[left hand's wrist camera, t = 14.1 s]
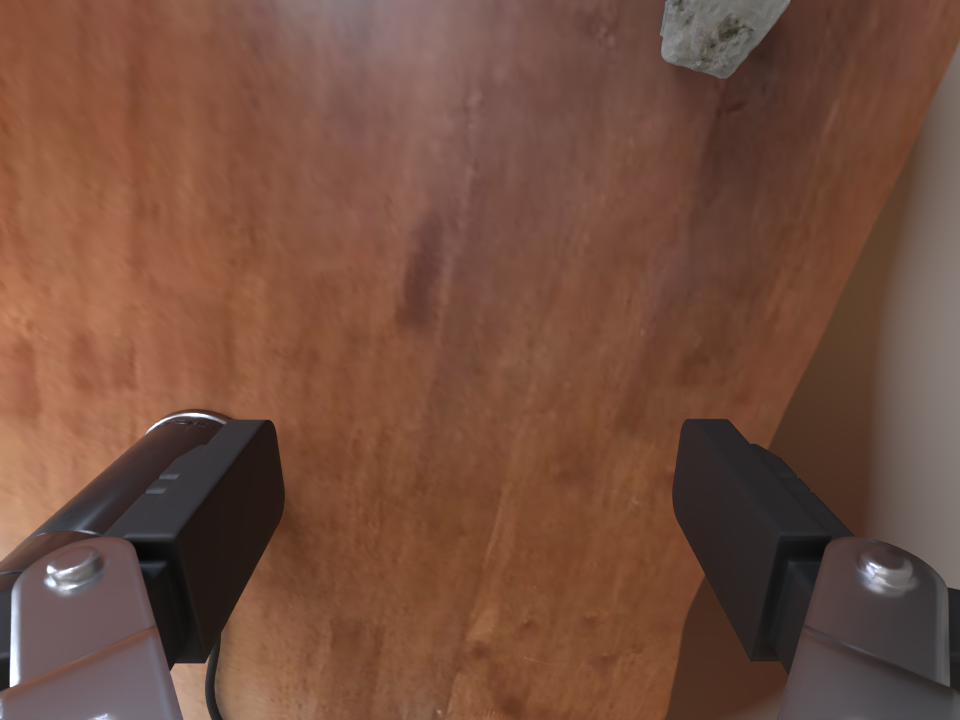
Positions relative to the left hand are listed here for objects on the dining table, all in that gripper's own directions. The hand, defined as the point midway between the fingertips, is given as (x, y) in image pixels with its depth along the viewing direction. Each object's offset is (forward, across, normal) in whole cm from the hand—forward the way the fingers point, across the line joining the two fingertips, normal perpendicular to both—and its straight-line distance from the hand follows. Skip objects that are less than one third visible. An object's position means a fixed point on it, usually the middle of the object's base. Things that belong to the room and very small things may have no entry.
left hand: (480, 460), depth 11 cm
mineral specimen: (+29, +12, +12) cm, 34 cm away
